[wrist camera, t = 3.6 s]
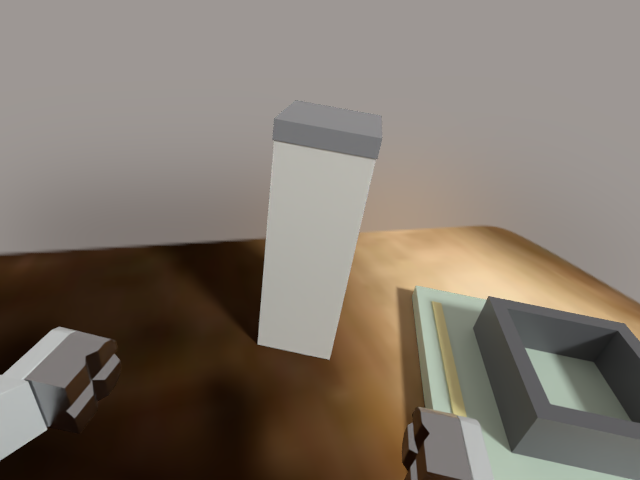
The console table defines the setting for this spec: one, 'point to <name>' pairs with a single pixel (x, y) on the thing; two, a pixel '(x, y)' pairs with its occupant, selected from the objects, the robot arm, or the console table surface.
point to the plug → (314, 222)
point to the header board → (534, 384)
